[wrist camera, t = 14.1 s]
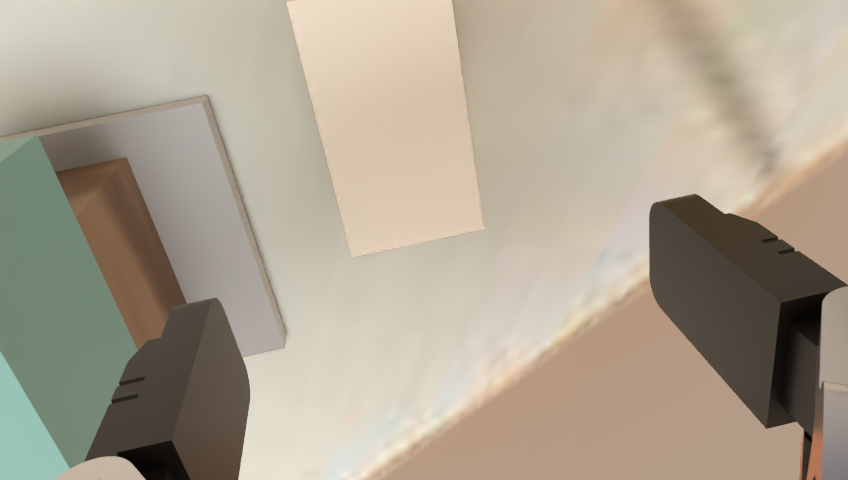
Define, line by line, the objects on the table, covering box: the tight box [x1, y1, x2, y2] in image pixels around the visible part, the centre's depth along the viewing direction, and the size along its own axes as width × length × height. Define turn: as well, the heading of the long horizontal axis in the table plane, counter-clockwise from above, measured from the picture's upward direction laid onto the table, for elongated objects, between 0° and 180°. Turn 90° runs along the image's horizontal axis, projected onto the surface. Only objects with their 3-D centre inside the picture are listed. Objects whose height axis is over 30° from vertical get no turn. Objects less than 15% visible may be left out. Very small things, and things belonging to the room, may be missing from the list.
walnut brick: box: [55, 157, 187, 350], centre depth 25 cm, size 5×9×6 cm, turn 10°
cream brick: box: [286, 0, 484, 258], centre depth 24 cm, size 5×9×6 cm, turn 10°
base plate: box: [0, 95, 286, 357], centre depth 28 cm, size 12×12×1 cm
